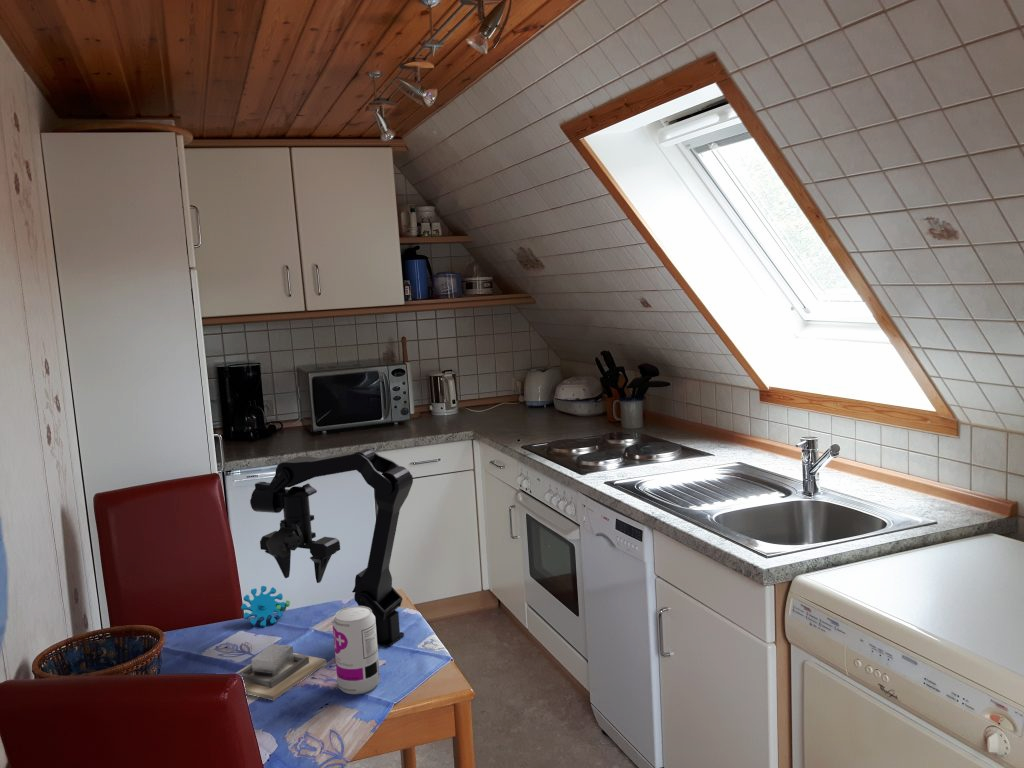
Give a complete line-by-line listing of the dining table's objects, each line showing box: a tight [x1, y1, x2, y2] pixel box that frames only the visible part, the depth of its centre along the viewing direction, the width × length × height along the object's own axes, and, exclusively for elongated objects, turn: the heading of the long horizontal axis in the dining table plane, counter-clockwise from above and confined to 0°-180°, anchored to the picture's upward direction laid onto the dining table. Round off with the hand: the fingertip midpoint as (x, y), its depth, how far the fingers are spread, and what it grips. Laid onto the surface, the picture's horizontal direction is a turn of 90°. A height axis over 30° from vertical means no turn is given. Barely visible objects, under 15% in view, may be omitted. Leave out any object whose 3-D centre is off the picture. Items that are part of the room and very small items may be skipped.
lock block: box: [251, 643, 294, 680], centre depth 169 cm, size 5×7×4 cm
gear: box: [240, 585, 291, 628], centre depth 198 cm, size 11×6×10 cm
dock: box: [236, 652, 327, 700], centre depth 169 cm, size 14×16×2 cm
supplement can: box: [332, 605, 381, 695], centre depth 162 cm, size 8×8×15 cm
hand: (302, 580), depth 189 cm, fingers open, 9 cm apart
